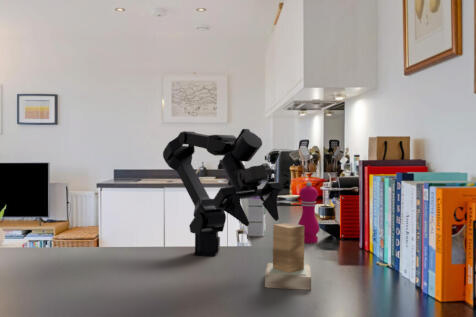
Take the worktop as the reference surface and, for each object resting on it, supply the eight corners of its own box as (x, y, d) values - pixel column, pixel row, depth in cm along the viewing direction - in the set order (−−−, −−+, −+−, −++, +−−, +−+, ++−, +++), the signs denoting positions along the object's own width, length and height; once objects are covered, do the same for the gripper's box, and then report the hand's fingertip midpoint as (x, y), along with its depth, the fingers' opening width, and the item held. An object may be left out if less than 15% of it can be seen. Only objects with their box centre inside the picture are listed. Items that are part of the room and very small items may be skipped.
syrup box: (263, 236, 147) (264, 195, 147) (247, 235, 148) (247, 195, 148) (265, 233, 153) (266, 193, 153) (249, 232, 154) (250, 193, 154)
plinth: (264, 287, 92) (265, 273, 92) (267, 274, 102) (267, 262, 102) (311, 289, 91) (311, 276, 91) (309, 276, 101) (309, 263, 101)
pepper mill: (320, 240, 143) (321, 181, 142) (317, 244, 136) (318, 182, 135) (299, 238, 145) (300, 180, 145) (295, 242, 138) (296, 182, 138)
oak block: (288, 273, 93) (288, 228, 93) (272, 268, 97) (273, 224, 97) (303, 269, 96) (304, 225, 96) (288, 264, 100) (288, 222, 100)
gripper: (219, 154, 100) (246, 208, 93) (279, 151, 111) (307, 199, 103) (203, 182, 108) (226, 235, 100) (260, 177, 118) (285, 223, 111)
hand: (263, 222), depth 103 cm, fingers open, 9 cm apart
